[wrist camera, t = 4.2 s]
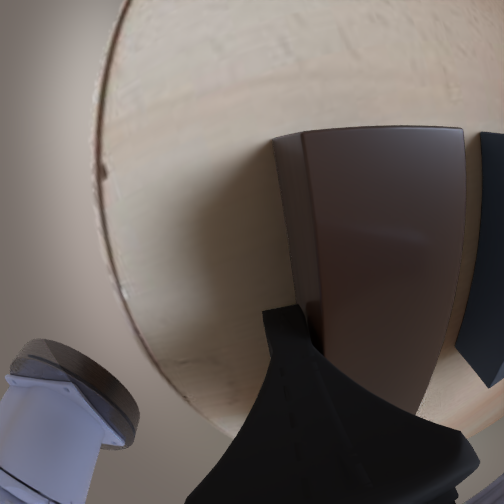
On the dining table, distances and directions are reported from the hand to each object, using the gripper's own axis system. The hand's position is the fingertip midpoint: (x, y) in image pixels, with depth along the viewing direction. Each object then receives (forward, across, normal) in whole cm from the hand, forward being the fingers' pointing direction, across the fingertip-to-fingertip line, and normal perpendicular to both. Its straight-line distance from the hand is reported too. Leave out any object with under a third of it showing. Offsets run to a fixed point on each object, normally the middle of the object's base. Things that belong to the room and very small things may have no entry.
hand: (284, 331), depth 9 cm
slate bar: (+2, -12, 0) cm, 12 cm away
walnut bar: (+2, -3, 0) cm, 3 cm away
